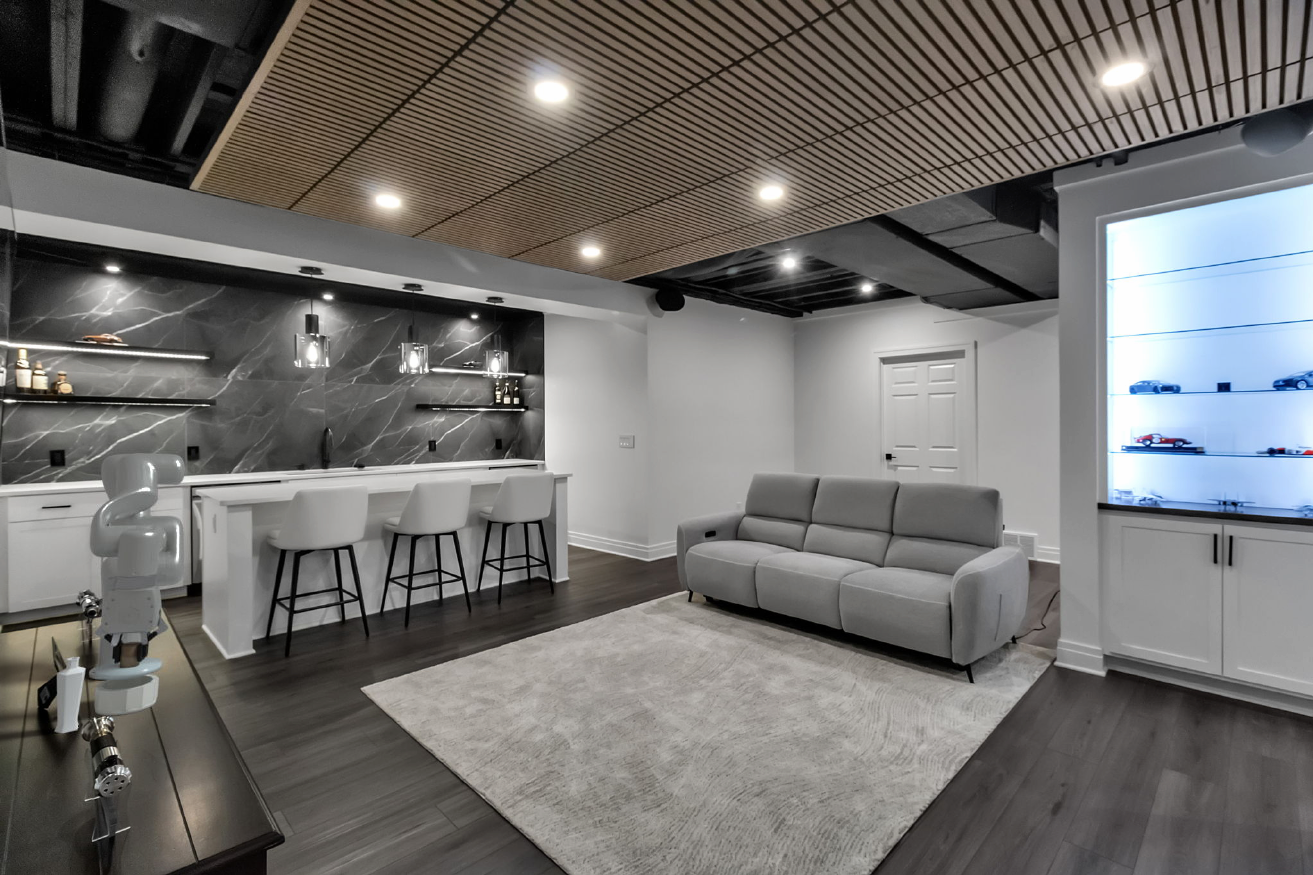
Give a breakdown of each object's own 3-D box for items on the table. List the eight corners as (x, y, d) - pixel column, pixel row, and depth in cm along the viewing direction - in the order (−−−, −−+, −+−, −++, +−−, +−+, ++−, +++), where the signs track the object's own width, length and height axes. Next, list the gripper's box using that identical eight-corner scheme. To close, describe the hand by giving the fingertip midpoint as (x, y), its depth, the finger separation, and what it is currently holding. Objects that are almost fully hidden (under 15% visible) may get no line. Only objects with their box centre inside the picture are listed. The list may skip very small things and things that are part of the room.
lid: (107, 664, 151) (109, 638, 152) (168, 660, 156) (170, 635, 156) (85, 681, 140) (87, 653, 140) (151, 677, 145) (153, 649, 145)
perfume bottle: (87, 726, 137) (93, 656, 137) (62, 735, 132) (68, 662, 133) (73, 722, 138) (79, 653, 139) (49, 730, 134) (55, 659, 134)
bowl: (106, 699, 151) (107, 676, 151) (162, 695, 155) (164, 672, 155) (86, 718, 141) (88, 693, 141) (147, 712, 145) (149, 688, 145)
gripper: (84, 586, 142) (77, 669, 141) (174, 584, 149) (168, 663, 148) (98, 580, 149) (91, 658, 148) (183, 578, 156) (177, 653, 155)
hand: (129, 660), depth 148 cm, fingers closed on lid, 3 cm apart
